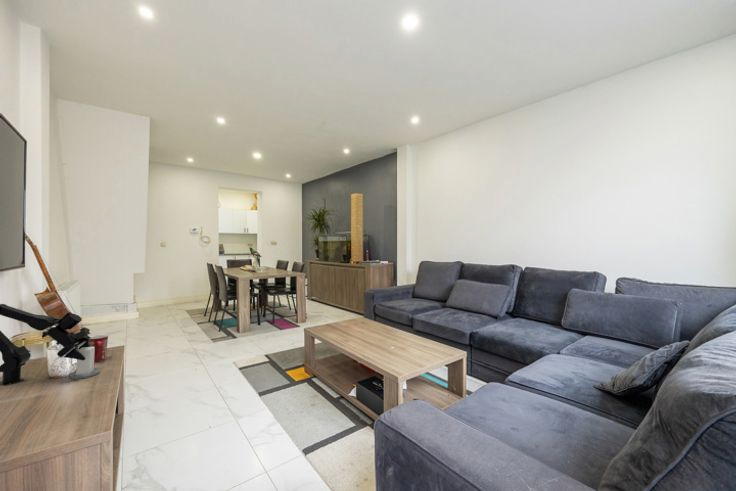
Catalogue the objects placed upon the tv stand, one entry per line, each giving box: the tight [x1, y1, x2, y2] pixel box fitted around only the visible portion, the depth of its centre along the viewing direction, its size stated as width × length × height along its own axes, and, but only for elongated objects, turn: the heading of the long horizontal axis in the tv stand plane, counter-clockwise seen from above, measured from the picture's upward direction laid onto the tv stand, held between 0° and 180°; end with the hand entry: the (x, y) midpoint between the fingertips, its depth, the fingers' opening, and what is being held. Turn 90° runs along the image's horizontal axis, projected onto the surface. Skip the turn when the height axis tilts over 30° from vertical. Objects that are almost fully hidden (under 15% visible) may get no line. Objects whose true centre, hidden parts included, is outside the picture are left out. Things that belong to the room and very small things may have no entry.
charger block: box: [75, 347, 95, 375], centre depth 155 cm, size 5×5×12 cm
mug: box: [89, 334, 109, 363], centre depth 174 cm, size 13×9×14 cm
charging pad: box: [69, 367, 100, 380], centre depth 154 cm, size 11×11×1 cm
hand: (89, 356), depth 155 cm, fingers open, 9 cm apart
